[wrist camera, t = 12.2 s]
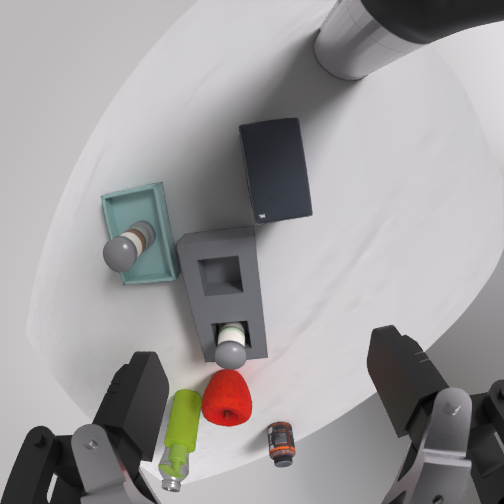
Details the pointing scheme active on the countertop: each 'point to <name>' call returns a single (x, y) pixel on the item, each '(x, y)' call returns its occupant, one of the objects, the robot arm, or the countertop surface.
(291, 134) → the small box
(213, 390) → the apple
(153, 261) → the tray
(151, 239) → the fuse
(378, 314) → the countertop surface
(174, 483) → the plastic bottle
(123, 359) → the countertop surface
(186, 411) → the soap dispenser
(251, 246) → the block
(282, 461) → the supplement bottle
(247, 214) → the countertop surface
